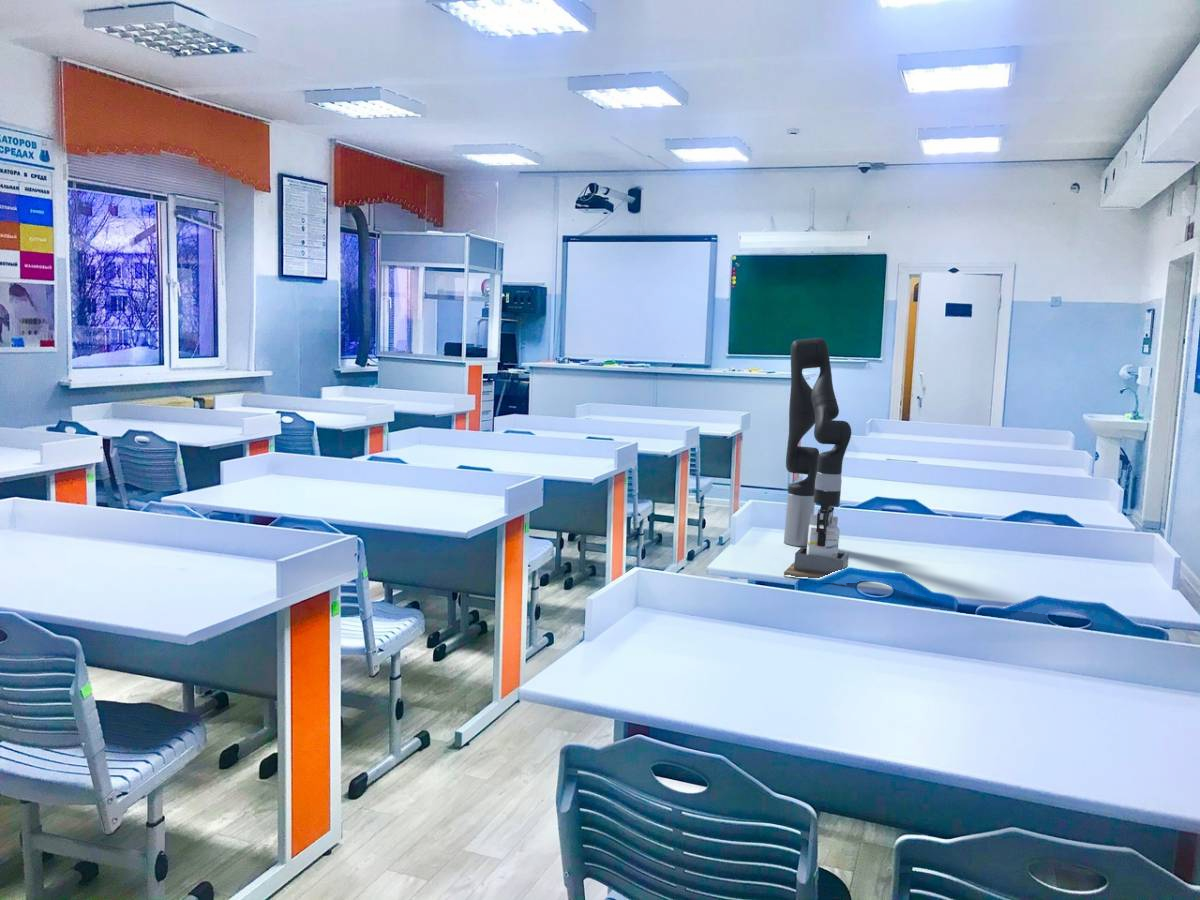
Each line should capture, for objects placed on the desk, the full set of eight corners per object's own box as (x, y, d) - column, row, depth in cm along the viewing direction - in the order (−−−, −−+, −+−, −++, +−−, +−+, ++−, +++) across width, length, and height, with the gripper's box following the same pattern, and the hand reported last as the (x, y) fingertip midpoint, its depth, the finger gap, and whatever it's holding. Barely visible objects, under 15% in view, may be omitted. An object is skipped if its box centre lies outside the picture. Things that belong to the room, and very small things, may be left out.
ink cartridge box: (807, 566, 287) (811, 517, 285) (805, 562, 292) (809, 514, 290) (836, 568, 286) (841, 519, 284) (834, 564, 291) (838, 516, 289)
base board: (796, 564, 301) (796, 559, 300) (855, 572, 294) (856, 568, 294) (783, 576, 284) (784, 571, 284) (846, 586, 277) (846, 580, 277)
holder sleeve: (800, 563, 296) (802, 547, 295) (847, 569, 291) (848, 553, 290) (793, 569, 287) (795, 553, 286) (842, 576, 282) (843, 560, 281)
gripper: (819, 483, 294) (814, 538, 296) (810, 489, 281) (805, 546, 283) (844, 486, 291) (839, 541, 293) (836, 492, 278) (831, 550, 280)
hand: (823, 543), depth 288 cm, fingers closed on ink cartridge box, 5 cm apart
